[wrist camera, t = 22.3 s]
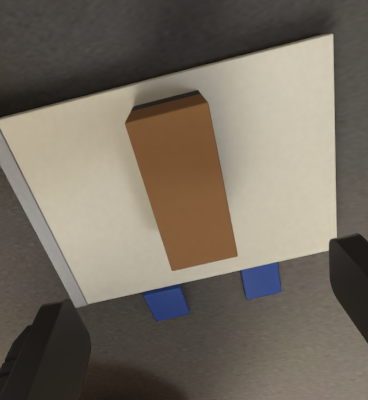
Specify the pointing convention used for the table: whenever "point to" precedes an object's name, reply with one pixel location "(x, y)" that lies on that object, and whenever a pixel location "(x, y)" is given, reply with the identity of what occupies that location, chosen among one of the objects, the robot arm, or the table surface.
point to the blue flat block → (261, 280)
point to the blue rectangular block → (167, 302)
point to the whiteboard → (229, 160)
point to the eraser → (183, 178)
